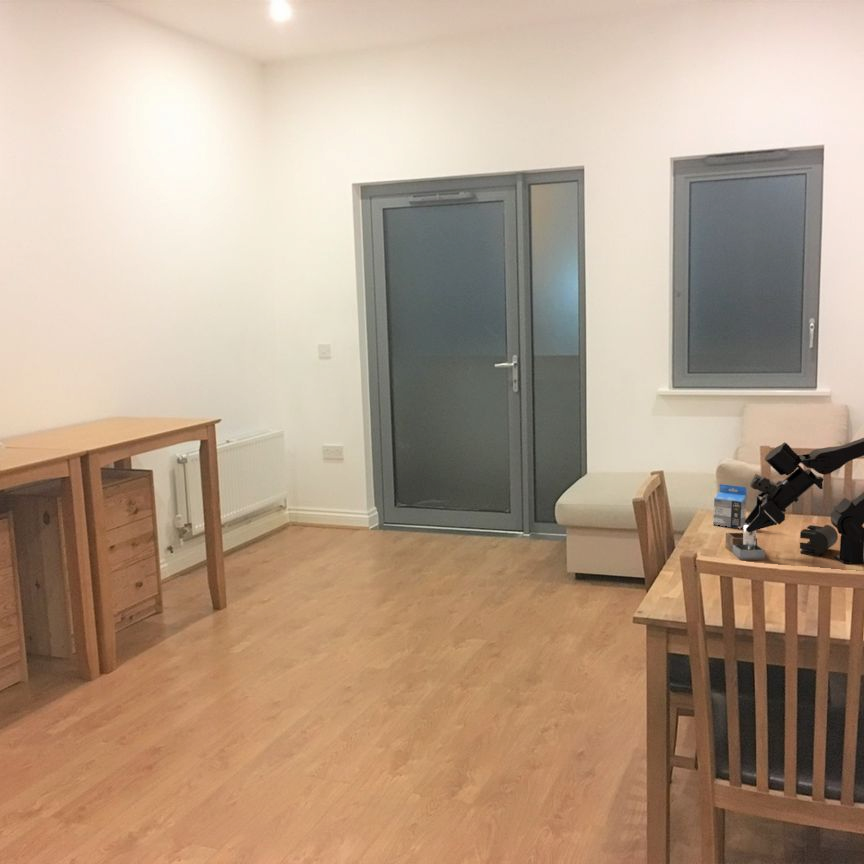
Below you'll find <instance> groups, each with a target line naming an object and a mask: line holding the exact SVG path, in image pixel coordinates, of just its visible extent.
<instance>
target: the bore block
mask: <svg viewBox="0 0 864 864" xmlns="http://www.w3.org/2000/svg"><path fill="white" fill-rule="evenodd" d="M733 544H743V532H726V533H725V548H726V549H727V550H729V551H730V553H732V554H733ZM756 544H758V538H757V537H756Z"/></svg>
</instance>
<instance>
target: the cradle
mask: <svg viewBox="0 0 864 864" xmlns="http://www.w3.org/2000/svg"><path fill="white" fill-rule="evenodd" d="M732 554H733V555H734V556H735V557H737V559H739V558H740V559H739V560H741V561H745V560H744V559H748V560H749V561H751V560H752V561H753V560H756V561H757V560H758V561H759V560H762V561H763V560H766V558H765V557H766V550H765V549H764V548H763V547H762V546H760V544H758V543H757V544H756V548H755V550H743V544H733V553H732Z"/></svg>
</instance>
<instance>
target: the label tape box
mask: <svg viewBox="0 0 864 864" xmlns="http://www.w3.org/2000/svg"><path fill="white" fill-rule="evenodd" d="M718 489H719V492H717V494H716V495H715V497H714V498H713V517H712V524H715V525H714V526H718V525H720V526H719V527H725V526H727V528H731V527H733V528H732V529H738V528H739V530H741V528H742V529H743V527H744V524H746V523H745V520H746V518H747V498H748V496H747V487H746V486H739V485H731V484H723V483H719V488H718ZM732 489H733V490H732ZM734 490H735V491H734ZM736 490H737V491H736Z"/></svg>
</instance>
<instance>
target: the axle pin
mask: <svg viewBox="0 0 864 864" xmlns="http://www.w3.org/2000/svg"><path fill="white" fill-rule="evenodd" d="M749 525H750V524H746V523H745V524H744V527H743V528H742V529H743V532H742V533H743V550H755V548H756V538H757V530H755V531H752V532H748V531H747V530H746V528H747V527H748V526H749Z"/></svg>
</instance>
